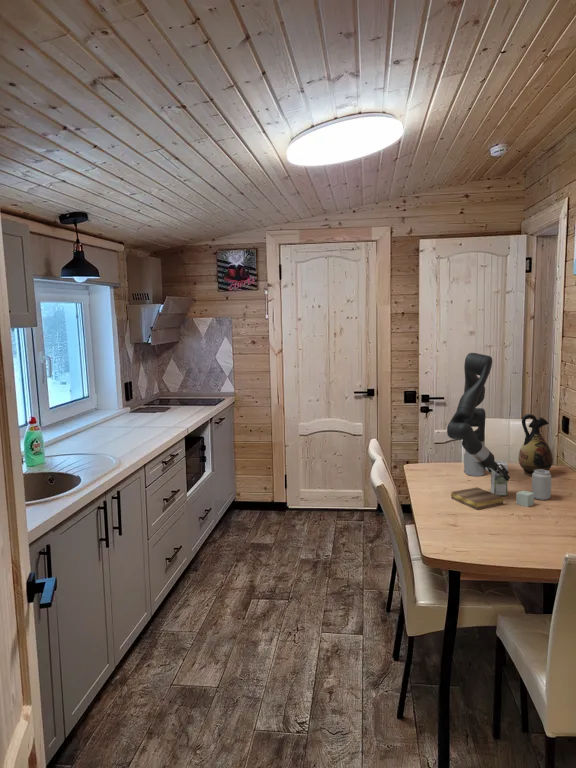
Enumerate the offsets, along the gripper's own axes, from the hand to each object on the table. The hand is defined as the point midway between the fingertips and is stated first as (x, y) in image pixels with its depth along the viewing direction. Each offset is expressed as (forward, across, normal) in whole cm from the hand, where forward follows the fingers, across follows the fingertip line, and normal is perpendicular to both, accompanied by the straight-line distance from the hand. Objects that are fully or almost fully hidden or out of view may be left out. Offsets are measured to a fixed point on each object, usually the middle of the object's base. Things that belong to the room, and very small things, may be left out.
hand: (501, 476), depth 246 cm
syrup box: (+5, 0, +6) cm, 8 cm away
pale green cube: (+5, -15, +6) cm, 17 cm away
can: (+13, -12, -2) cm, 18 cm away
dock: (-6, -3, +17) cm, 18 cm away
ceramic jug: (+30, +16, -19) cm, 39 cm away
